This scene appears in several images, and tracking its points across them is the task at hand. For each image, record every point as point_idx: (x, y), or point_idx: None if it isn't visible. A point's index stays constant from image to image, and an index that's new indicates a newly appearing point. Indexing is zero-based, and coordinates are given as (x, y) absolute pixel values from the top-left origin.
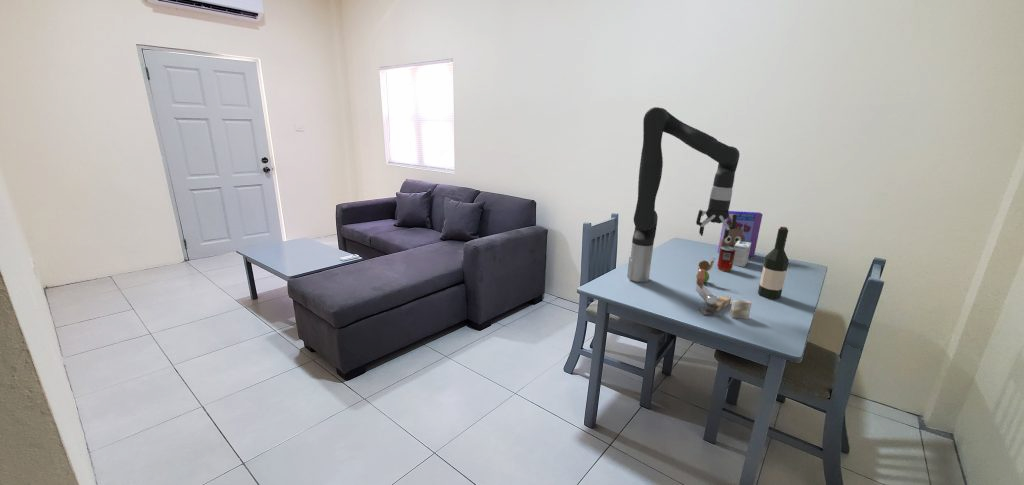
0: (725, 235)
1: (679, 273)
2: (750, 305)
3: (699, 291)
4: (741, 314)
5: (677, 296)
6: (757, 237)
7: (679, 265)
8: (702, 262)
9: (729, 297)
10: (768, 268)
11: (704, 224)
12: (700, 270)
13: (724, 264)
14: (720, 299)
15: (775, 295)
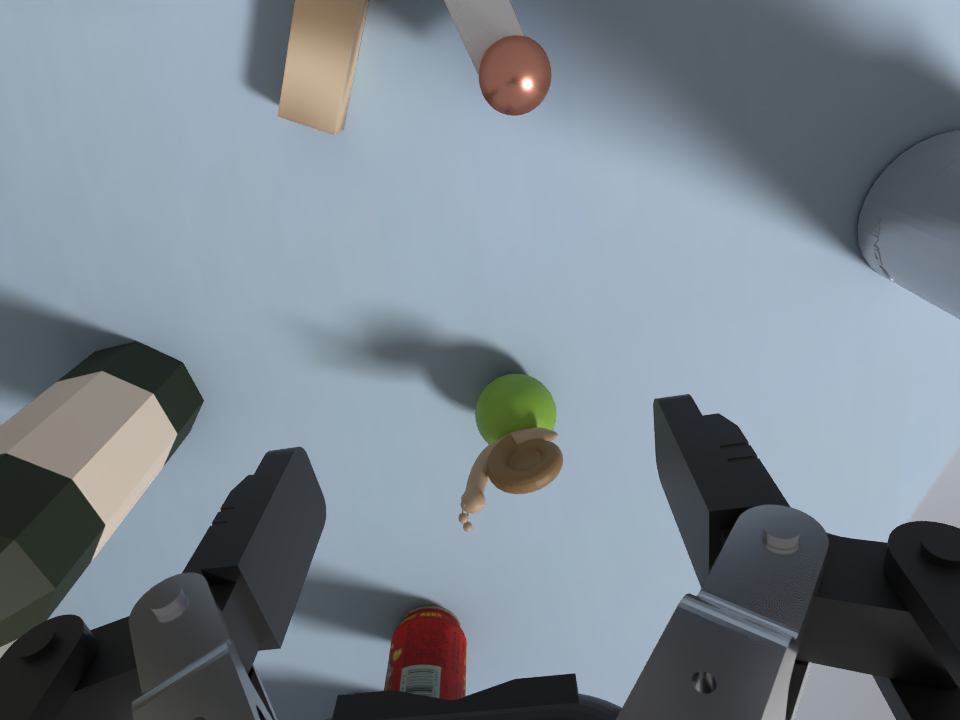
0: (260, 485)
1: (652, 458)
2: None
3: None
4: None
5: (642, 11)
6: None
7: (658, 572)
8: (539, 466)
9: (288, 116)
10: (44, 471)
11: (745, 569)
12: (528, 50)
13: (426, 637)
14: (332, 22)
15: (84, 363)
